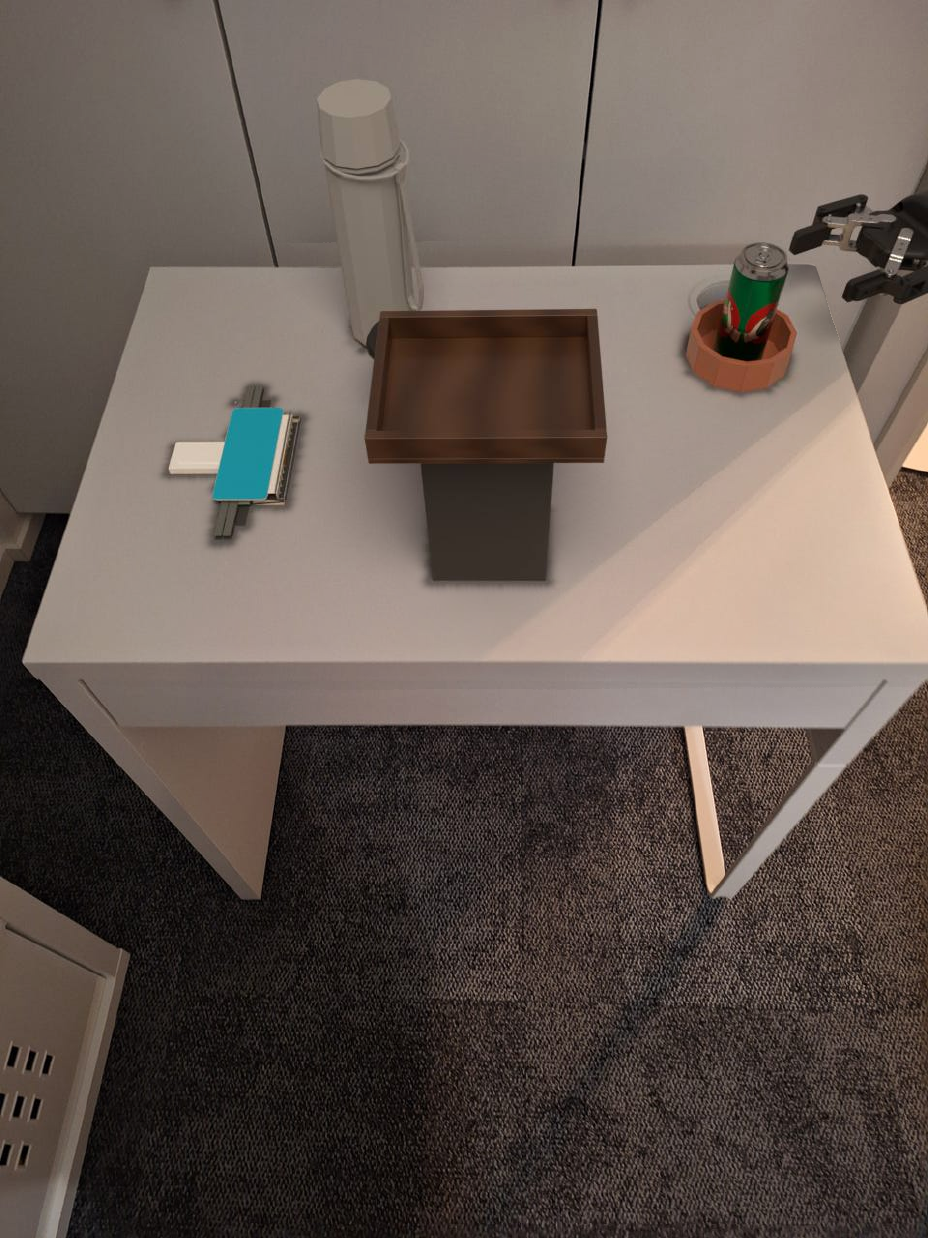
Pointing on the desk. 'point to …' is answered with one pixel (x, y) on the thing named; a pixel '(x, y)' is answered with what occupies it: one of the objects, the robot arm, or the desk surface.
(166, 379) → the desk surface
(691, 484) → the desk surface
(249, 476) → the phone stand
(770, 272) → the soda can
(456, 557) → the stand
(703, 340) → the bowl
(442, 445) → the tray
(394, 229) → the water bottle
